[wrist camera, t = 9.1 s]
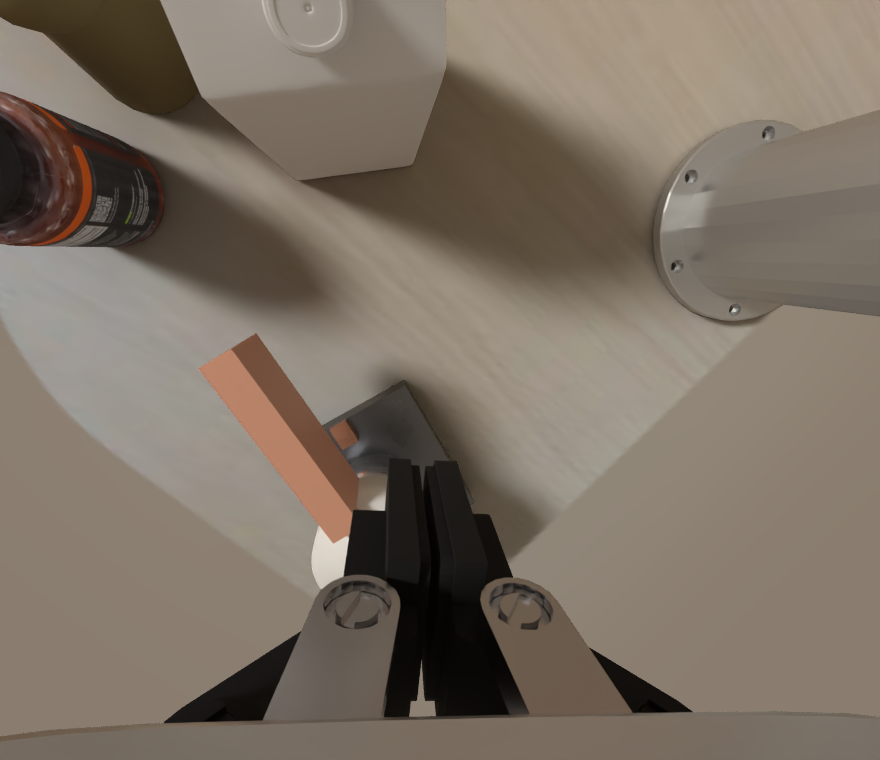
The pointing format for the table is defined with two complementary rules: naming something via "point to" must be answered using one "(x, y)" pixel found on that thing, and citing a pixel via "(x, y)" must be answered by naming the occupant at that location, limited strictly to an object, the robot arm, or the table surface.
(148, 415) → the table surface
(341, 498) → the orange bar with ball
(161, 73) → the olive pear
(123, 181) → the supplement bottle
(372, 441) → the coupling base
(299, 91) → the milk carton
